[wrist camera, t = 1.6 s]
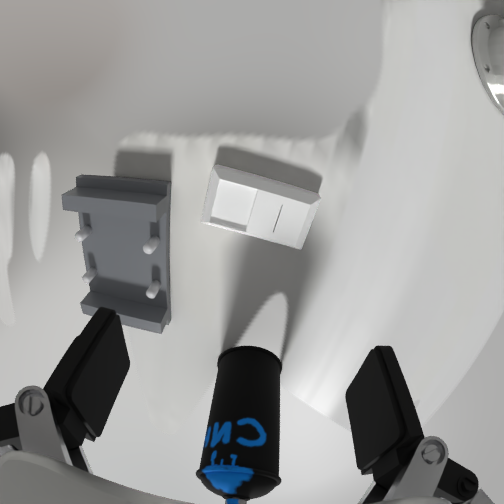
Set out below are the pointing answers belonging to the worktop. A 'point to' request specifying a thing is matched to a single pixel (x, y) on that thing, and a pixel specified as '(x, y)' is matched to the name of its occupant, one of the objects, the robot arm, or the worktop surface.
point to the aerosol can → (243, 426)
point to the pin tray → (125, 247)
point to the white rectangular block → (259, 206)
